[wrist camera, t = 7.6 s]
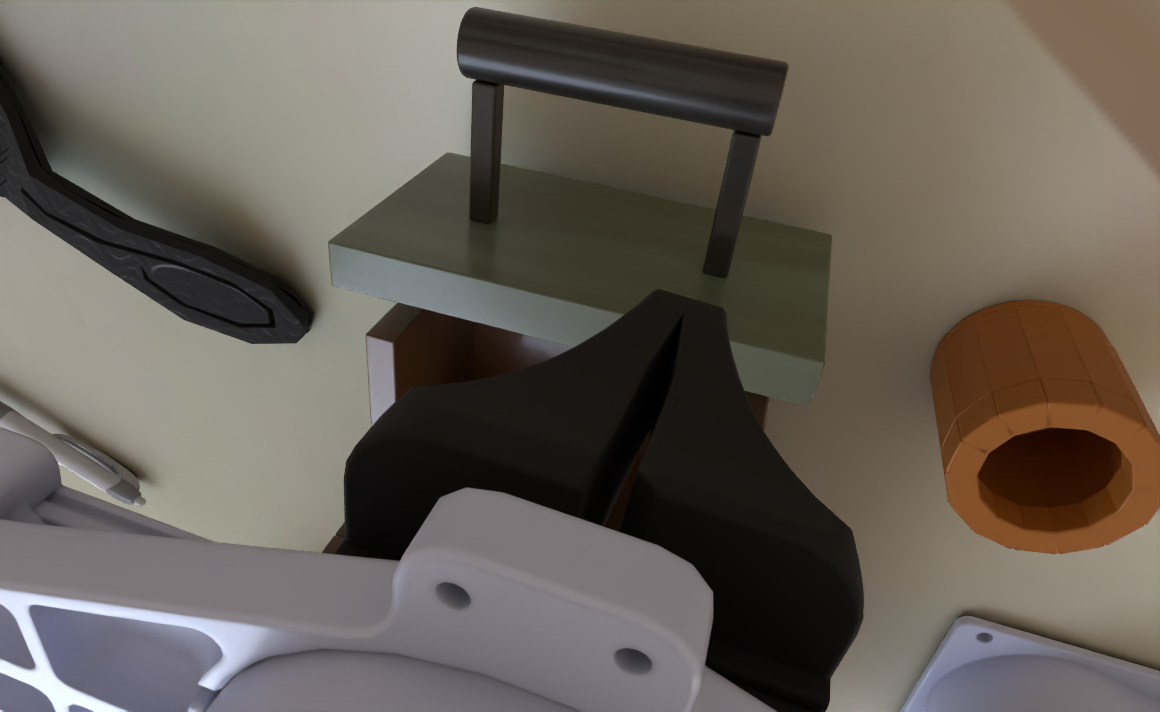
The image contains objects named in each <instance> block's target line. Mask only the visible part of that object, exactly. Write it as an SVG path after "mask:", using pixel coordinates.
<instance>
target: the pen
mask: <svg viewBox="0 0 1160 712" xmlns="http://www.w3.org/2000/svg"><path fill="white" fill-rule="evenodd" d="M0 427H2V428H4V429H7V430H10V431H13V432H15V433H18V434H21V435H24V436H26V437H29V438H32V439H34V440H36V441H38V442H40V443H41V444H43V445H44V446H45V447H46V448H47V449H49V450H50V451H51V452H52V454H53V455H54V457H55V459H56V461H57V463H59V464H60V465H62V466H64V467H65V468H67V469H69V470H70V471H72V472H73V473H75V474H77V475H78V476H80V477H81V478H83V479H85V480H86V481H88V482H89V483H91V484H93V485H94V486H96V487H98V488H99V489H101V490H102V491H104V492H106V493H107V494H109V495H110V496H112V497H114V498H116V499H118V500H120V501H122V502H124V503H126V504H130V505H133V504H136V505H138V506H143V505H144V504H145V503H146V500H145V499H144V498H142V497H141V493H140V491H139V489H140V485H139V482H138V480H137V479H136V478H135V476H134V475H133V474H132V473H131V472H130V471H128V470H127V469H126V468H125V467H123V466H122V465H120V464H119V463H117V462H116V461H114V460H113V459H111V458H110V457H108V456H107V455H105V454H103V453H102V452H100V451H99V450H97V449H95V448H93V447H91V446H89V445H87V444H85V443H83V442H81V441H79V440H77V439H75V438H72V437H70V436H67V435H63V434H53V435H52V434H50V433H49V432H47V431H46V430H44V429H42V428H41V427H39V426H38V425H36V424H34V423H33V422H31V421H30V420H28V419H26V418H25V417H24V416H22V415H21V414H20V413H18V412H17V411H15V410H14V409H12V408H10V407H9V406H7V405H6V404H4V403H2V402H1V401H0ZM73 442H74V443H73ZM75 443H76V444H75ZM77 444H78V445H80V446H82V447H84V448H86V449H88V450H90V451H92V452H93V453H95V454H97V455H98V456H99V457H101V458H102V459H104V460H105V461H106V462H108V463H109V464H110V465H112V466H110V465H109V464H107V463H106V462H104V461H103V460H101V459H100V458H98V457H96V456H95V455H93V454H92V453H90V452H88V451H87V450H85V449H83V448H82V447H80V446H78V445H77ZM71 446H72V447H71ZM73 447H74V448H73ZM75 448H76V449H77V450H76V449H75ZM78 450H79V451H81V452H82V453H81V452H79V451H78ZM83 453H84V454H85V455H84V454H83ZM86 455H87V456H89V457H90V458H89V457H87V456H86ZM91 458H92V459H93V460H92V459H91ZM94 460H95V461H96V462H95V461H94Z"/></svg>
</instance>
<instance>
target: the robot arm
mask: <svg viewBox="0 0 1160 712" xmlns="http://www.w3.org/2000/svg"><path fill="white" fill-rule="evenodd" d="M650 429H651V430H650ZM649 431H650V435H649V439H648V444H647V449H646V451H645V454H644V456H643V458H642V461H641V463H640V465H639V468H638V470H637V473H636V476H635V480H634V483H633V487H632V490H631V494H630V497H629V501H628V504H627V508H626V511H625V515H624V519H623V522H622V526H621V529H620V532H618V531H615V530H612V529H609V528H606V527H605V524H606V522H607V520H608V517H609V515H610V512H611V510H612V508H613V506H614V504H615V502H616V500H617V498H618V496H619V494H620V492H621V490H622V487H623V485H624V483H625V481H626V479H627V477H628V475H629V473H630V471H631V469H632V467H633V465H634V463H635V460H636V458H637V456H638V454H639V452H640V450H641V448H642V446H643V444H644V442H645V440H646V437H647V435H648V433H649ZM344 506H345V540H344V542H343V543H342V544H341V546H340V547H339V548H338V550H337V551H336V552H335V554H326V553H317V552H307V551H297V550H287V549H277V548H267V547H257V546H248V545H238V544H228V543H218V542H214V541H211V540H208V539H206V538H203V537H200V536H198V535H195V534H192V533H189V532H187V531H184V530H181V529H179V528H176V527H173V526H171V525H168V524H165V523H163V522H160V521H157V520H154V519H152V518H149V517H146V516H144V515H141V514H138V513H136V512H133V511H130V510H128V509H125V508H122V507H120V506H117V505H114V504H111V503H109V502H106V501H103V500H101V499H98V498H95V497H93V496H90V495H87V494H85V493H82V492H79V491H76V490H74V489H71V488H68V487H66V486H63V485H62V484H61V475H60V469H59V466H58V463H57V461H56V459H55V457H54V455H53V454H52V452H51V451H50V450H49V449H47V448H46V447H45V446H44V445H43V444H41V443H40V442H38V441H36V440H34V439H32V438H29V437H26V436H24V435H21V434H18V433H15V432H13V431H10V430H7V429H4V428H2V427H0V712H825V711H826V709H827V708H828V705H829V701H830V678H831V677H832V675H833V673H834V672H835V670H836V668H837V667H838V665H839V664H840V662H841V660H842V659H843V657H844V655H845V654H846V652H847V651H848V649H849V647H850V646H851V644H852V642H853V641H854V639H855V638H856V636H857V634H858V631H859V628H860V626H861V623H862V620H863V608H864V592H863V583H862V575H861V570H860V564H859V559H858V554H857V549H856V545H855V540H854V536H853V532H852V530H851V529H850V528H849V527H848V526H847V525H846V524H845V523H844V522H843V521H842V520H840V519H839V518H838V517H837V516H836V515H835V514H834V513H833V512H832V511H830V510H829V509H828V508H827V507H826V506H825V505H824V504H823V503H822V502H820V501H819V500H818V499H817V498H816V497H815V496H814V495H813V494H812V493H811V492H810V490H809V489H808V488H807V487H806V486H805V485H804V484H803V483H802V482H801V481H800V480H799V478H798V477H797V476H796V475H795V474H794V473H793V471H792V470H791V469H790V468H789V467H788V465H787V464H786V463H785V461H784V460H783V459H782V457H781V456H780V455H779V453H778V452H777V450H776V449H775V448H774V446H773V445H772V443H771V442H770V440H769V439H768V437H767V436H766V434H765V432H764V430H763V429H762V427H761V425H760V423H759V421H758V419H757V417H756V415H755V413H754V411H753V409H752V407H751V405H750V403H749V400H748V398H747V395H746V393H745V390H744V388H743V385H742V383H741V380H740V377H739V374H738V371H737V367H736V364H735V361H734V358H733V354H732V350H731V346H730V341H729V336H728V330H727V314H726V312H725V311H724V309H723V307H719V306H716V305H712V304H709V303H705V302H702V301H699V300H695V299H692V298H688V297H685V296H681V295H678V294H675V293H671V292H668V291H664V290H661V289H657V290H655V291H653V292H651V293H650V294H649V295H648V296H647V297H646V298H644V299H643V300H642V301H641V302H640V303H639V304H637V305H636V306H635V307H634V308H633V309H631V310H630V311H629V312H627V313H626V314H625V315H624V316H622V317H621V318H619V319H618V320H617V321H615V322H614V323H612V324H611V325H609V326H608V327H607V328H605V329H604V330H602V331H601V332H599V333H597V334H596V335H594V336H592V337H591V338H589V339H587V340H586V341H584V342H582V343H580V344H579V345H577V346H575V347H573V348H571V349H570V350H568V351H566V352H564V353H562V354H559V355H557V356H555V357H553V358H551V359H548V360H546V361H543V362H541V363H538V364H534V365H531V366H528V367H525V368H522V369H519V370H516V371H512V372H509V373H506V374H502V375H497V376H493V377H489V378H483V379H478V380H473V381H467V382H460V383H451V384H440V385H429V386H414V387H411V388H410V389H409V390H408V391H407V392H406V393H405V394H404V395H403V396H402V397H400V398H399V399H398V400H397V401H396V402H395V403H393V404H392V405H391V406H390V407H389V408H388V409H387V410H386V411H385V412H384V413H383V414H382V415H381V416H380V417H379V419H378V420H377V421H376V422H375V423H374V425H373V426H372V427H371V428H370V429H369V431H368V432H367V433H366V434H365V435H364V437H363V438H362V439H361V440H360V441H359V442H358V444H357V445H356V446H355V448H354V449H353V451H352V453H351V454H350V456H349V458H348V459H347V461H346V467H345V474H344ZM982 633H986V634H982ZM899 712H1160V671H1158V670H1155V669H1152V668H1148V667H1145V666H1141V665H1138V664H1134V663H1131V662H1128V661H1124V660H1121V659H1117V658H1114V657H1110V656H1107V655H1103V654H1100V653H1097V652H1093V651H1090V650H1086V649H1083V648H1079V647H1076V646H1073V645H1069V644H1066V643H1062V642H1059V641H1055V640H1052V639H1048V638H1045V637H1042V636H1038V635H1035V634H1031V633H1028V632H1024V631H1021V630H1018V629H1014V628H1011V627H1007V626H1004V625H1000V624H997V623H993V622H990V621H987V620H983V619H980V618H976V617H972V616H962V617H960V618H957V619H956V620H955V621H954V623H953V624H952V626H951V628H950V629H949V631H948V633H947V634H946V636H945V638H944V639H943V641H942V643H941V644H940V646H939V647H938V649H937V651H936V652H935V654H934V656H933V657H932V659H931V661H930V662H929V664H928V666H927V667H926V669H925V670H924V672H923V674H922V675H921V677H920V679H919V680H918V682H917V684H916V685H915V687H914V688H913V690H912V692H911V693H910V695H909V697H908V698H907V700H906V702H905V703H904V705H903V707H902V708H901V710H900V711H899Z"/></svg>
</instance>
